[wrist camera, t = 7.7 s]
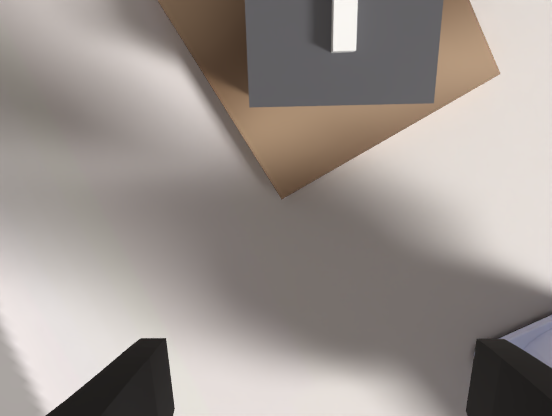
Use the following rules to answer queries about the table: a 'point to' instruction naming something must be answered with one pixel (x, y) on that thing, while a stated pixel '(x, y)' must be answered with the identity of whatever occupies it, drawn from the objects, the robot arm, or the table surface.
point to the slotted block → (342, 52)
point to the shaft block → (319, 119)
